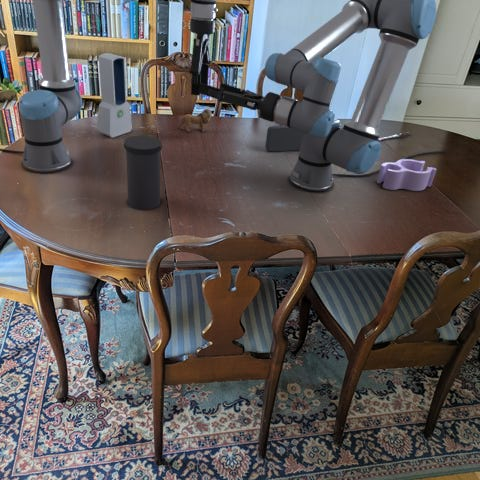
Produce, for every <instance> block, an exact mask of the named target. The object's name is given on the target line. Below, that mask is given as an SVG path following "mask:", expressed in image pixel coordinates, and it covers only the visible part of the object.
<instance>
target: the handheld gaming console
mask: <svg viewBox="0 0 480 480" xmlns="http://www.w3.org/2000/svg"><path fill="white" fill-rule="evenodd" d="M301 139H302V132H301V131H298V130H295V129H292V128H289V127H287V126H285V128H283V127H282V124H279V125H270V126H268V127H267V130H266V139H265V145H264V146H265V150H267V151H268V152H289V151H290V152H292V151H294V152H295V151H300V146H301Z"/></svg>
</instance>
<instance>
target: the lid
mask: <svg viewBox="0 0 480 480" xmlns="http://www.w3.org/2000/svg"><path fill="white" fill-rule="evenodd" d="M123 147H124V150H125V152H126V151H128V152H130V153H133V154H139V155H149V154H155V153H157V152H159V151H160V152H161V151H162V149H163V144H162V141H161V140H160V139H159V138H157V137H154V136H151V135H134V136H130V137H127V138H126V139H124V141H123Z"/></svg>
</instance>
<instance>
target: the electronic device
mask: <svg viewBox="0 0 480 480" xmlns="http://www.w3.org/2000/svg"><path fill="white" fill-rule="evenodd" d="M98 67H99V68H98V69H99V80H100V81H99V83H100V96H101V102H100V103H99V105H98V110H97V112H98V113H97V123H96V124H97V125H96V127H97V130H98V132H99V133H100V135H104V136H106V137H109V138H111V139H113V138H116V137H119V136H121V135H124V134H127V133H130V132H131V131H132V129H133V121H132V114H131V104H130V102H128V100H127V78H126V77H127V75H126V74H127V73H126V57H124V56H121V55H117V54H114V53H110V52H104V53H102V54H100V55H99V56H98Z"/></svg>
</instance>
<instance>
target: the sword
mask: <svg viewBox="0 0 480 480" xmlns="http://www.w3.org/2000/svg"><path fill="white" fill-rule="evenodd" d="M401 134H402V133H396V134H392V135H389V136H383V137H379V138H378V142H381V141H384V140H389V139H393V138H400V137H402V136H406V135H409V134H404V135H401Z"/></svg>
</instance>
